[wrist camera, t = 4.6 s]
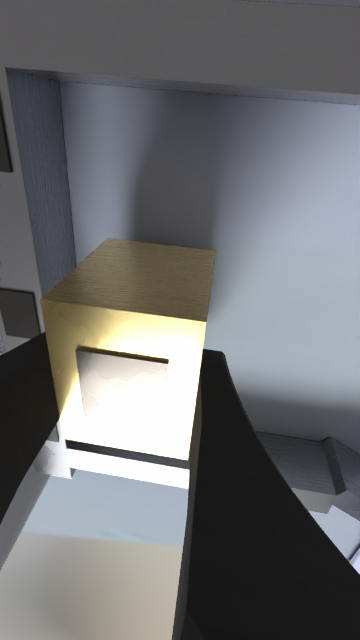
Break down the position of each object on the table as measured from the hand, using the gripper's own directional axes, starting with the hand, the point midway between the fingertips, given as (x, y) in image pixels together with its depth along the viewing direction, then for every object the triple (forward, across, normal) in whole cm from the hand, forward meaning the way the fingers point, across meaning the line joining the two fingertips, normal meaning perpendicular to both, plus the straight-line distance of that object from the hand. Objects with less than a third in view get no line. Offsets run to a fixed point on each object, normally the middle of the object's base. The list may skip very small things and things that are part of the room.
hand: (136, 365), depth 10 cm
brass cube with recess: (+4, 0, 0) cm, 4 cm away
